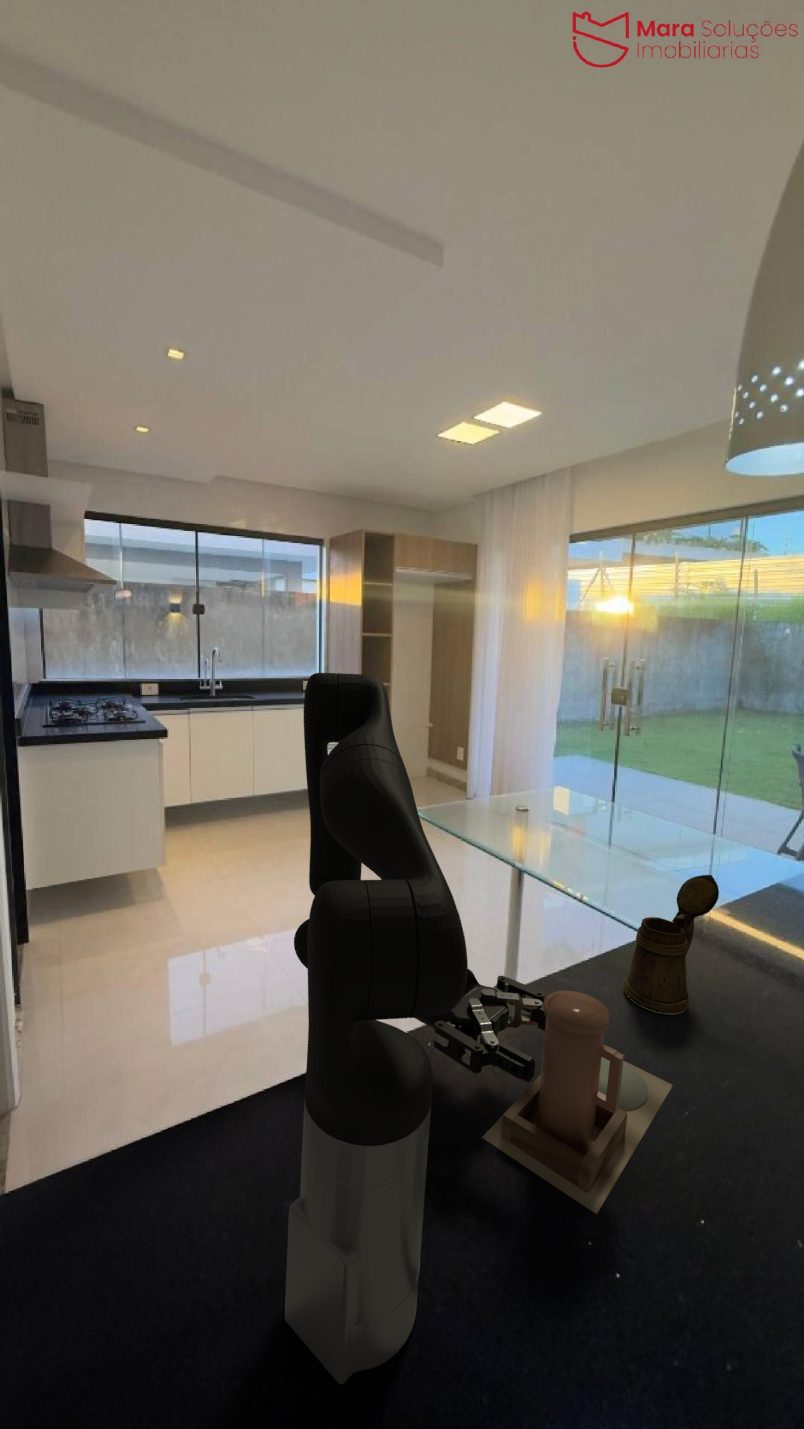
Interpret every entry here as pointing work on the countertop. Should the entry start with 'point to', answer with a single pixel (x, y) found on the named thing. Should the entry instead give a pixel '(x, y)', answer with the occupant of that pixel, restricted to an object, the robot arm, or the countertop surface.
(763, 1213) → the countertop surface
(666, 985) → the wooden mug
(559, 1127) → the tall brown tankard
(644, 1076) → the board
